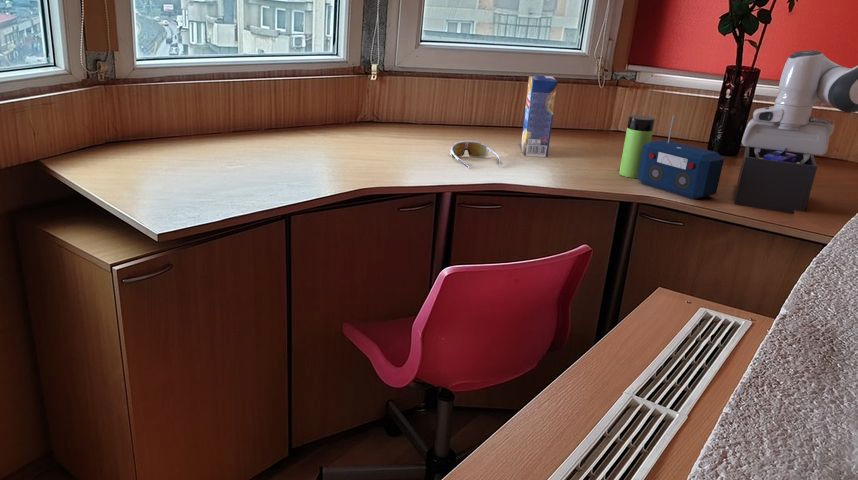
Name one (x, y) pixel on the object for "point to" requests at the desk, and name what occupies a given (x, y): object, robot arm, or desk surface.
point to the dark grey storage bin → (774, 182)
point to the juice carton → (538, 115)
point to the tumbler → (635, 143)
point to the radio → (680, 168)
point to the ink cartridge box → (781, 156)
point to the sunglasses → (470, 150)
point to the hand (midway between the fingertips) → (778, 167)
